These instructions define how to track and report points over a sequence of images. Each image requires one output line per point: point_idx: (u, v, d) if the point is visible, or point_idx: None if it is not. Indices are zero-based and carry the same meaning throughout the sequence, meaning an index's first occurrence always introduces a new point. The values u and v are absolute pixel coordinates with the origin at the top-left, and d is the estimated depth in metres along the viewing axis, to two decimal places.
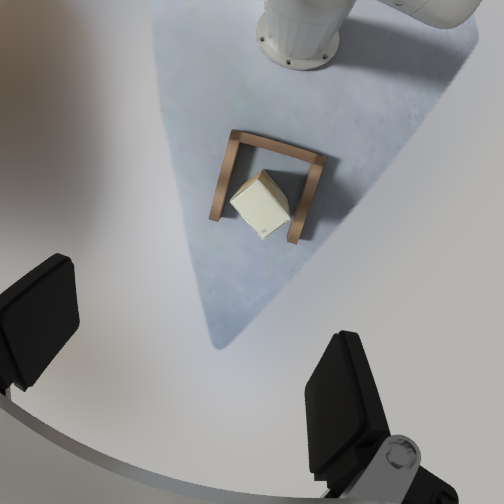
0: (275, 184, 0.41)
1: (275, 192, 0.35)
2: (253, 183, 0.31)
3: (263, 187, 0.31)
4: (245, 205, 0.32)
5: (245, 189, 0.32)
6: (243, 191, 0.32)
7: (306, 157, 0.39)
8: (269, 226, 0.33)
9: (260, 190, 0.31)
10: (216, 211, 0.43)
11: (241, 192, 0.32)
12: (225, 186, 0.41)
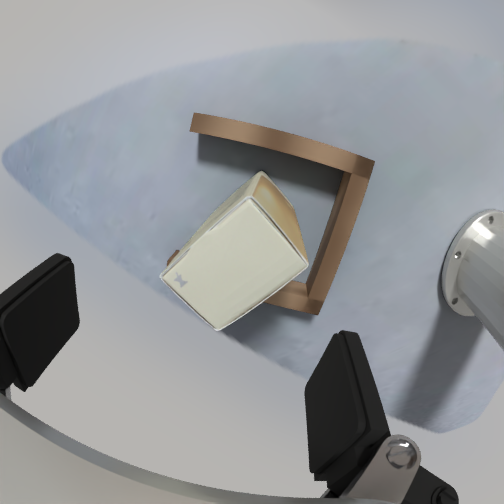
0: None
1: None
2: (299, 256, 0.12)
3: (288, 278, 0.13)
4: (241, 238, 0.12)
5: (283, 236, 0.12)
6: (278, 231, 0.12)
7: (318, 287, 0.24)
8: (194, 292, 0.14)
9: (282, 272, 0.13)
10: (210, 126, 0.19)
11: (275, 226, 0.12)
12: (262, 143, 0.20)
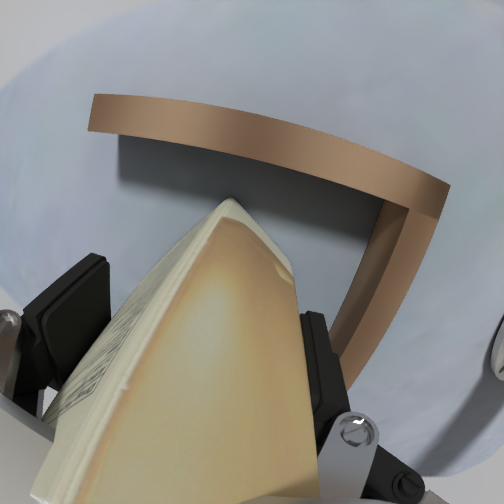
0: None
1: None
2: None
3: None
4: None
5: None
6: None
7: None
8: None
9: None
10: (121, 116, 0.09)
11: None
12: (225, 146, 0.09)
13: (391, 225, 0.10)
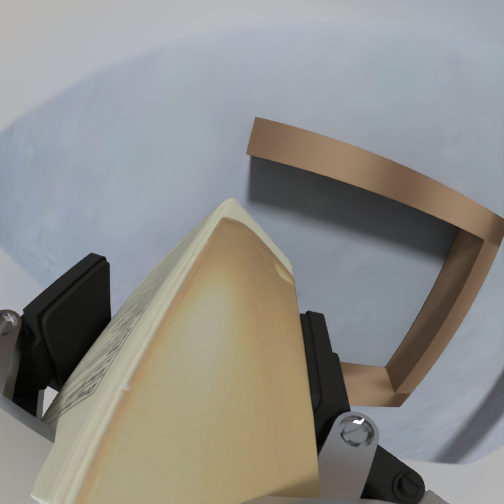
0: None
1: None
2: None
3: None
4: None
5: None
6: None
7: (410, 381, 0.15)
8: None
9: None
10: (288, 147, 0.10)
11: None
12: (381, 189, 0.10)
13: (468, 250, 0.12)
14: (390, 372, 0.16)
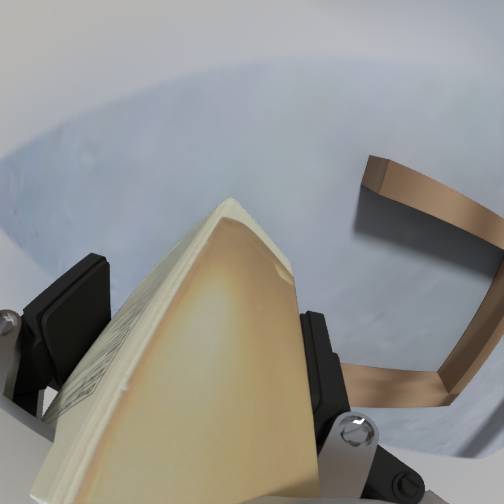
0: None
1: None
2: None
3: None
4: None
5: None
6: None
7: (461, 382, 0.15)
8: None
9: None
10: (413, 191, 0.10)
11: None
12: (471, 228, 0.11)
13: None
14: (443, 376, 0.17)
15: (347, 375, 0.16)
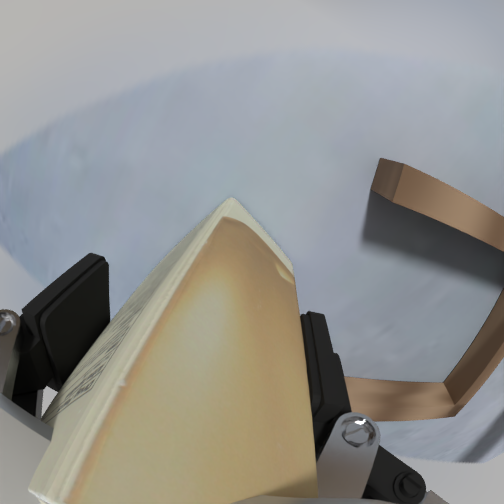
0: None
1: None
2: None
3: None
4: None
5: None
6: None
7: (468, 394, 0.14)
8: None
9: None
10: (428, 198, 0.09)
11: None
12: (486, 237, 0.09)
13: None
14: (449, 386, 0.15)
15: (352, 389, 0.15)
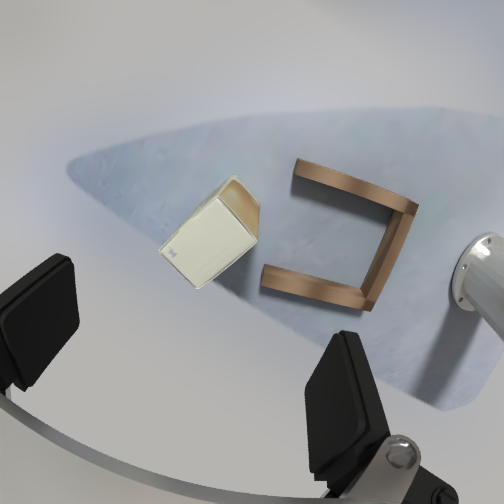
0: None
1: None
2: (250, 235, 0.19)
3: (244, 250, 0.20)
4: (212, 223, 0.19)
5: (239, 222, 0.19)
6: (235, 219, 0.19)
7: (373, 291, 0.31)
8: (181, 261, 0.20)
9: (239, 246, 0.19)
10: (311, 172, 0.26)
11: (234, 215, 0.19)
12: (349, 189, 0.27)
13: (397, 218, 0.28)
14: (363, 289, 0.33)
15: (295, 276, 0.32)
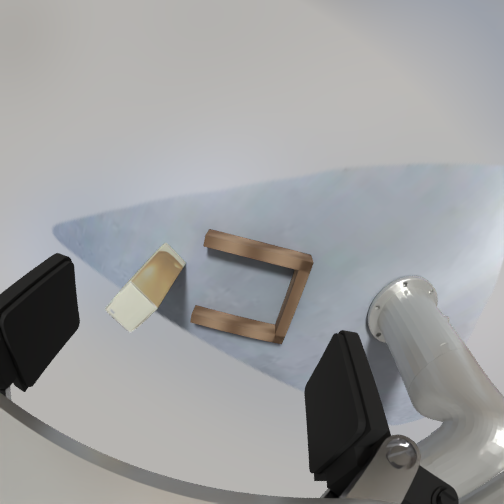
0: None
1: None
2: (152, 304, 0.29)
3: (151, 312, 0.29)
4: (130, 297, 0.28)
5: (145, 296, 0.28)
6: (142, 295, 0.28)
7: (280, 329, 0.40)
8: (118, 316, 0.30)
9: (148, 310, 0.29)
10: (215, 244, 0.36)
11: (141, 292, 0.28)
12: (246, 255, 0.36)
13: (295, 273, 0.38)
14: (275, 326, 0.42)
15: (217, 315, 0.42)
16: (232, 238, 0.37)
